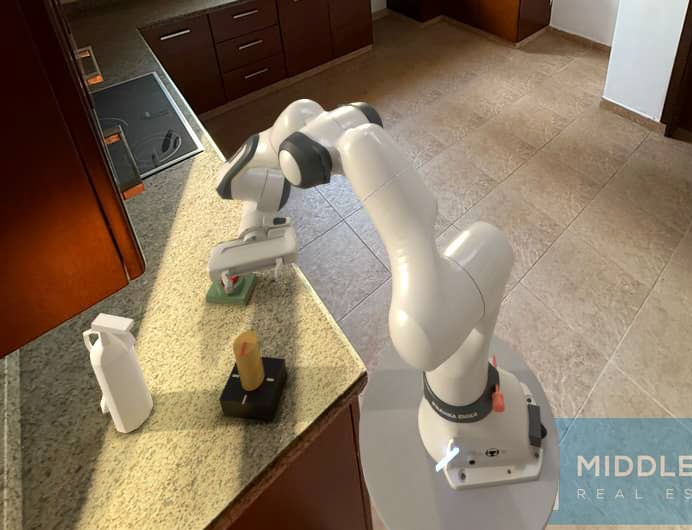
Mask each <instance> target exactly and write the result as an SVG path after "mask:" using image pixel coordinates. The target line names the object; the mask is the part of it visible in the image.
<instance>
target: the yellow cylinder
mask: <svg viewBox="0 0 692 530" xmlns="http://www.w3.org/2000/svg"><path fill="white" fill-rule="evenodd" d="M232 349H233V350H232V351H233V354H234V360H235V362H236V363H237V368H238V372H239V376H240V380H241V384H242V387H243V389H245V390H247V391H252V390H255V389H256V388H258V387H259V386H260V385H261V383H262V382H263V379H264V375H265V373H264V368H263V363H262V358H261V354H262V353H261V349H260V345H259V340H258V336H257V334H256V332H255V331H252V330H246V331H243V332H242V333H240V334H239V335H238V336H237V337H236V338H235V340H234V341H233V344H232Z"/></svg>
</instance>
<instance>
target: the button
mask: <svg viewBox="0 0 692 530" xmlns="http://www.w3.org/2000/svg"><path fill="white" fill-rule="evenodd" d="M230 280H233V284H235V283H236V282H237V280H238V276H236V277H232V278H230ZM230 280H229V281H230ZM222 282H223V280H222ZM223 285H224V286H225V284H224V283H223Z"/></svg>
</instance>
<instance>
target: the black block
mask: <svg viewBox="0 0 692 530" xmlns="http://www.w3.org/2000/svg"><path fill="white" fill-rule="evenodd" d="M260 354H261V358H262V363H263V368H264V373H265V375H264V379H263V382H262V383H261V385H260V386H259V387H258V388H256V389H255V390H252V391H247V390H245V389H243V387H242V384H241V380H240V376H239V372H238V368H237V363H236V361H235V362H234V364H233V367H232V369H231V372H230V374H229V376H228V378H227V381H226V383H225V385H224V388H223V390H222V392H221V394H220V397H219V399H218V400H219V403H220V407H221V411H222V414H223V417H228V418H236V419H244V420H251V421H253V420H254V421H259V422H260V421H261V422H267V423H268V422H269V423H273V421H274V418H275V416H276V413H277V409H278V407H279V403H280V400H281V397H282V394H283V391H284V388H285V385H286V381H287V379H288V375H289V374H288V370H287V364H286V359H285V358H279V357H269V356H264V354H262V353H260Z"/></svg>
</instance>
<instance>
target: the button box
mask: <svg viewBox="0 0 692 530" xmlns="http://www.w3.org/2000/svg"><path fill="white" fill-rule="evenodd" d="M257 281H258V274H257V272H253V273H249V274H244V275H240V276H238V280H237V282H236V283H235V284H234V289H233V292H231V293H228V294H226V293H225V286H224V285H223V282H222V280H219V281H214V282H212V284H211V285H210V287H209V288H208V290H207V292H206V294H205V300H206V303H213V304H223V305H234V306H235V305H236V306H243V307H244V306H246V305H247V304H248V303H247V302H248V301H249V299H250V296H251V295H252V292H253V290H254V288H255V286H256V283H257Z"/></svg>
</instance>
